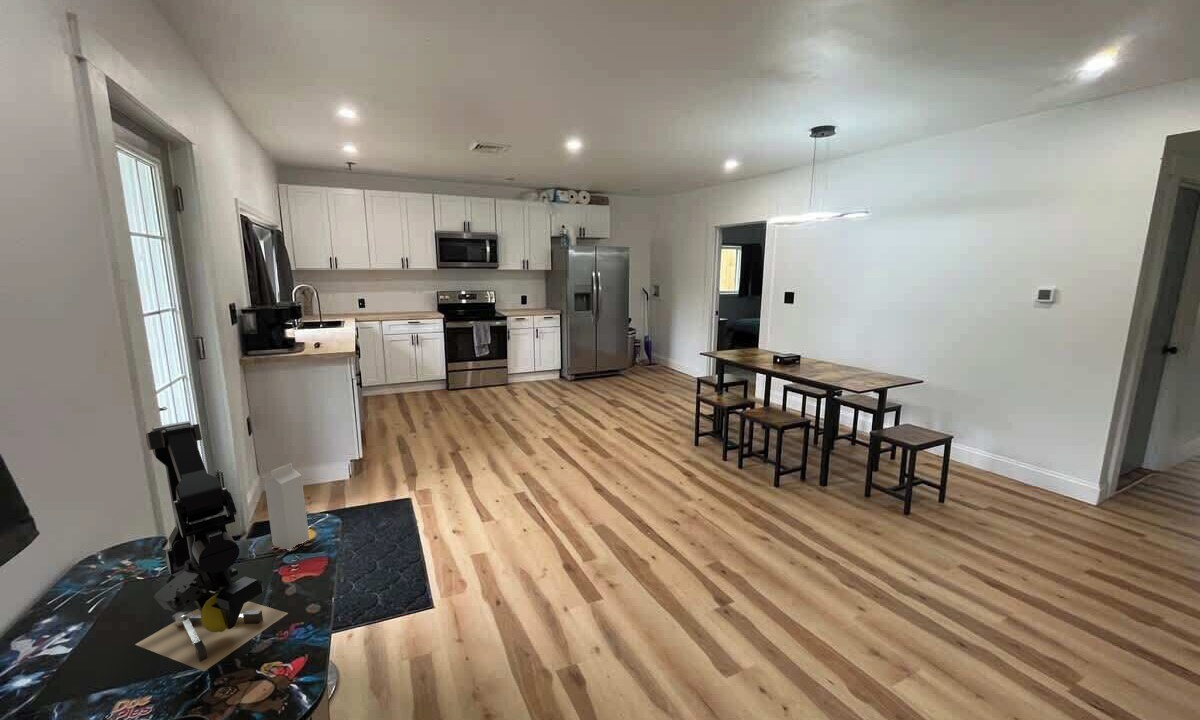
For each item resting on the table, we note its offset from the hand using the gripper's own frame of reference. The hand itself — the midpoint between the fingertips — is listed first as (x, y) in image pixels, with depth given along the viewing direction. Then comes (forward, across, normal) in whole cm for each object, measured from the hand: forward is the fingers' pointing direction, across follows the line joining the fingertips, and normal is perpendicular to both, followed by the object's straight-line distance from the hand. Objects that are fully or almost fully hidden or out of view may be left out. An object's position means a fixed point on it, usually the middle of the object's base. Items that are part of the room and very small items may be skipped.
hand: (221, 624), depth 94 cm
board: (+4, -4, +1) cm, 5 cm away
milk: (+4, -21, +30) cm, 37 cm away
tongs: (+3, -5, 0) cm, 6 cm away
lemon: (+2, 0, 0) cm, 2 cm away
